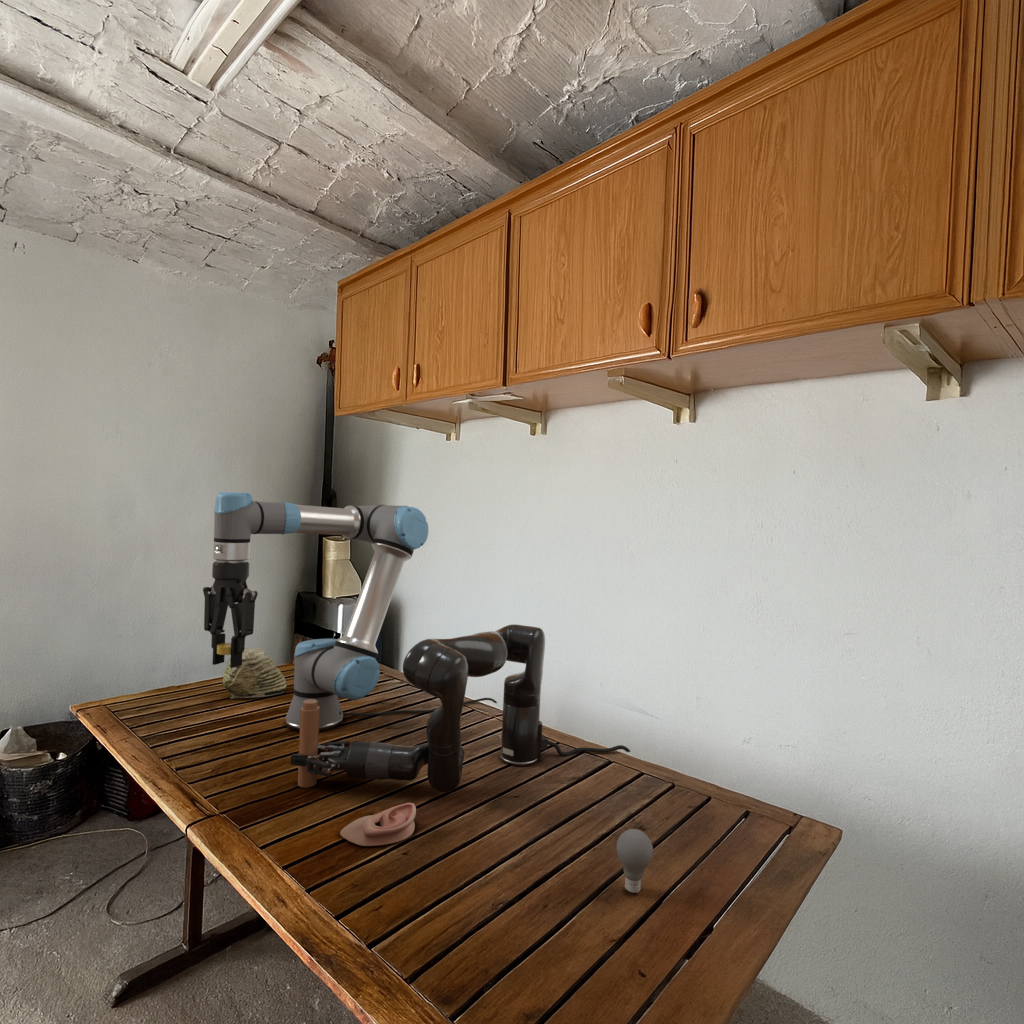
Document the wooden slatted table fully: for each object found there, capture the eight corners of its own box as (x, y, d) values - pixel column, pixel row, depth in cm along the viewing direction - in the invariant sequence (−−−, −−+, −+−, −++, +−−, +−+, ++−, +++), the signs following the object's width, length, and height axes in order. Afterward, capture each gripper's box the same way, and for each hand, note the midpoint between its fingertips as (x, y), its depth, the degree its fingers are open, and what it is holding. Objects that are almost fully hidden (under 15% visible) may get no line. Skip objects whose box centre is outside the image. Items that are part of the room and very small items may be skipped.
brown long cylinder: (306, 789, 137) (309, 705, 137) (293, 784, 139) (296, 701, 139) (320, 782, 140) (323, 700, 140) (308, 777, 142) (311, 697, 142)
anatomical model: (332, 820, 116) (360, 792, 128) (332, 841, 116) (359, 811, 128) (400, 830, 114) (422, 801, 125) (400, 852, 114) (421, 821, 125)
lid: (236, 649, 145) (236, 642, 145) (239, 653, 141) (239, 646, 141) (215, 651, 143) (215, 643, 143) (218, 655, 139) (218, 647, 139)
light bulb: (610, 879, 108) (613, 822, 108) (644, 879, 109) (647, 822, 109) (619, 902, 102) (622, 840, 102) (655, 901, 103) (658, 840, 103)
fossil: (218, 695, 195) (220, 647, 195) (278, 685, 208) (279, 640, 207) (228, 703, 189) (230, 653, 188) (289, 692, 201) (290, 645, 201)
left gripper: (187, 559, 141) (183, 663, 141) (250, 565, 135) (245, 674, 136) (214, 557, 148) (210, 656, 149) (274, 562, 142) (270, 666, 143)
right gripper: (381, 731, 146) (308, 726, 147) (363, 756, 131) (282, 751, 132) (380, 764, 146) (307, 759, 147) (361, 792, 132) (281, 786, 133)
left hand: (227, 664), depth 142 cm, fingers closed on lid, 4 cm apart
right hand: (296, 755), depth 140 cm, fingers closed on brown long cylinder, 4 cm apart
